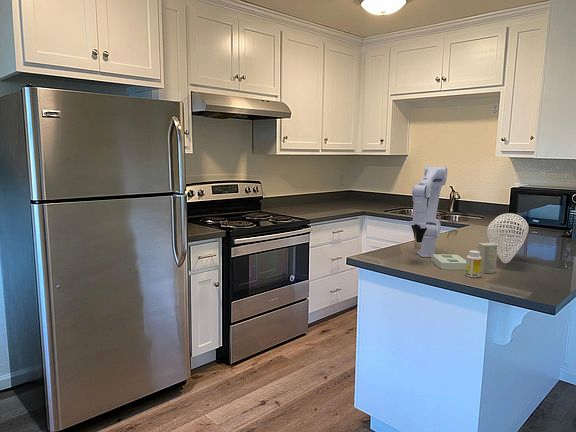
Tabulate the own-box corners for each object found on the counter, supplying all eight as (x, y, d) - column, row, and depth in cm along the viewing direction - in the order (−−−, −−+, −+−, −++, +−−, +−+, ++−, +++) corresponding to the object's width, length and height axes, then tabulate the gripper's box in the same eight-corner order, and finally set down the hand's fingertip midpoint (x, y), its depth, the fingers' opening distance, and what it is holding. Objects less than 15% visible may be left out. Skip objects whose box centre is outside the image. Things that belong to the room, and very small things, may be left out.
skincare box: (490, 270, 184) (492, 242, 182) (495, 273, 179) (498, 244, 178) (476, 270, 183) (478, 242, 182) (481, 273, 179) (483, 244, 177)
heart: (490, 255, 212) (494, 210, 209) (526, 259, 204) (530, 213, 201) (482, 267, 189) (486, 217, 186) (522, 272, 181) (526, 220, 177)
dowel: (413, 247, 196) (414, 228, 195) (420, 247, 196) (421, 228, 195) (415, 248, 193) (416, 229, 192) (421, 249, 193) (422, 229, 192)
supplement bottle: (482, 275, 175) (484, 251, 174) (477, 278, 171) (479, 253, 170) (468, 273, 179) (470, 249, 177) (463, 275, 175) (465, 251, 173)
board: (431, 260, 200) (431, 254, 200) (457, 260, 200) (457, 254, 199) (441, 269, 184) (441, 262, 184) (469, 270, 184) (470, 263, 183)
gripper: (407, 209, 200) (405, 238, 201) (414, 213, 185) (412, 244, 187) (422, 209, 199) (420, 238, 201) (431, 214, 185) (429, 244, 187)
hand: (418, 241), depth 194 cm, fingers closed on dowel, 3 cm apart
